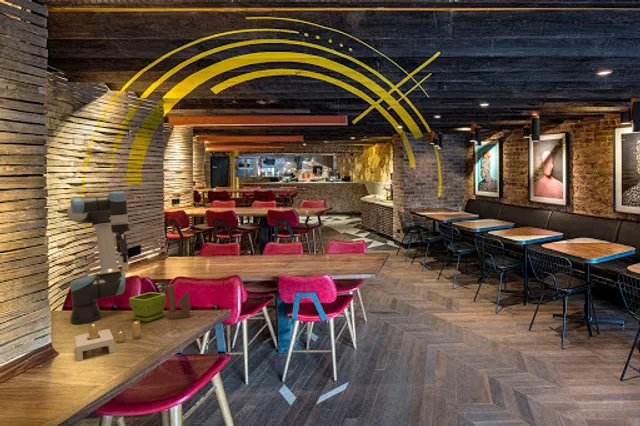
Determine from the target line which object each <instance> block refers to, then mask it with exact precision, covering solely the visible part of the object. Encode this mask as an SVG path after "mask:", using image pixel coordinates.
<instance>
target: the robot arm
mask: <svg viewBox="0 0 640 426" xmlns="http://www.w3.org/2000/svg"><path fill="white" fill-rule="evenodd" d="M127 203H128V202H127V195H126V192H125V191H123V190H122V191H110V192H108V195H104V196H103V195H102V196H89V197H88V196H87V197H85V196H83V197H80V196H79V197H73V198H71V199H70V206H69V207H68V208H67V210H66V215H67V218H68V219H69V220H71V221H72V222H74V223H77V224H91V226H92V227H93V228H94V229H95V234H96V242H97V250H98V258H99V266H100V271H99V273H98V277H95V275H86V276H82V277H79V278H76V279H74V280H72V281H71V283H70V292H71V300H72V301H71V304H72V310H71V314H70V318H69V321H70V324H71V323H72V324H71V325H84V324H85V325H86V324H91V323H95V322H96V321H99V320H101V319H102V317H103V313H102V311H101V309H100V307H99V305H98V299H105V298H109V297H116V296H119V295H122V294H123V293H124V292H125V290H126V275H125V274H124V273H122V271H125V270H129V269H130V268H129V267H130V265H129V252H128V251H129V250H128V244H127V235H126V234H125V233H126V232H129V230H130V229H129V215H128V206H127ZM114 233H115V235H114ZM114 236H115V237H114ZM115 240H116V241H115ZM115 242H116V245H115ZM116 252H117V253H116ZM118 266H121V267H122V268H121V269H122V270H121V269H119V268H118Z"/></svg>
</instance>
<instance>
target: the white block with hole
mask: <svg viewBox="0 0 640 426" xmlns="http://www.w3.org/2000/svg"><path fill="white" fill-rule="evenodd" d="M74 343H75V351H76V352H75V353H76V358H77V359H76V360H77V362H79V361H83V360H84V353H83V352H86V351H90V350H91V349H95V348H103V347H106V348H107V350H108V352H109V354H114V353H115V352H116V351H115V340H114V336H113V334H112V332H111V330H110V328H108V329H101V330H98V338H97V339H92V340H89V332H88V333H83V334H79V335H74Z"/></svg>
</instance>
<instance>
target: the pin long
mask: <svg viewBox="0 0 640 426" xmlns="http://www.w3.org/2000/svg"><path fill="white" fill-rule="evenodd" d="M98 327H99V326H98V323H97V322H90V323H87V331H88V333H89V340H92V339H97V338H98V331H99V330H98V329H99V328H98ZM100 348H101V347H100ZM100 348H95V349H91V350H89V351H90V353H96V352H99V351H100Z"/></svg>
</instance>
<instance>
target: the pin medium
mask: <svg viewBox="0 0 640 426" xmlns="http://www.w3.org/2000/svg"><path fill="white" fill-rule="evenodd" d="M131 330H132V339H133V340H134V339H137V340H140V339H142V328H141V320H137V319H135V320H132V321H131Z"/></svg>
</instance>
